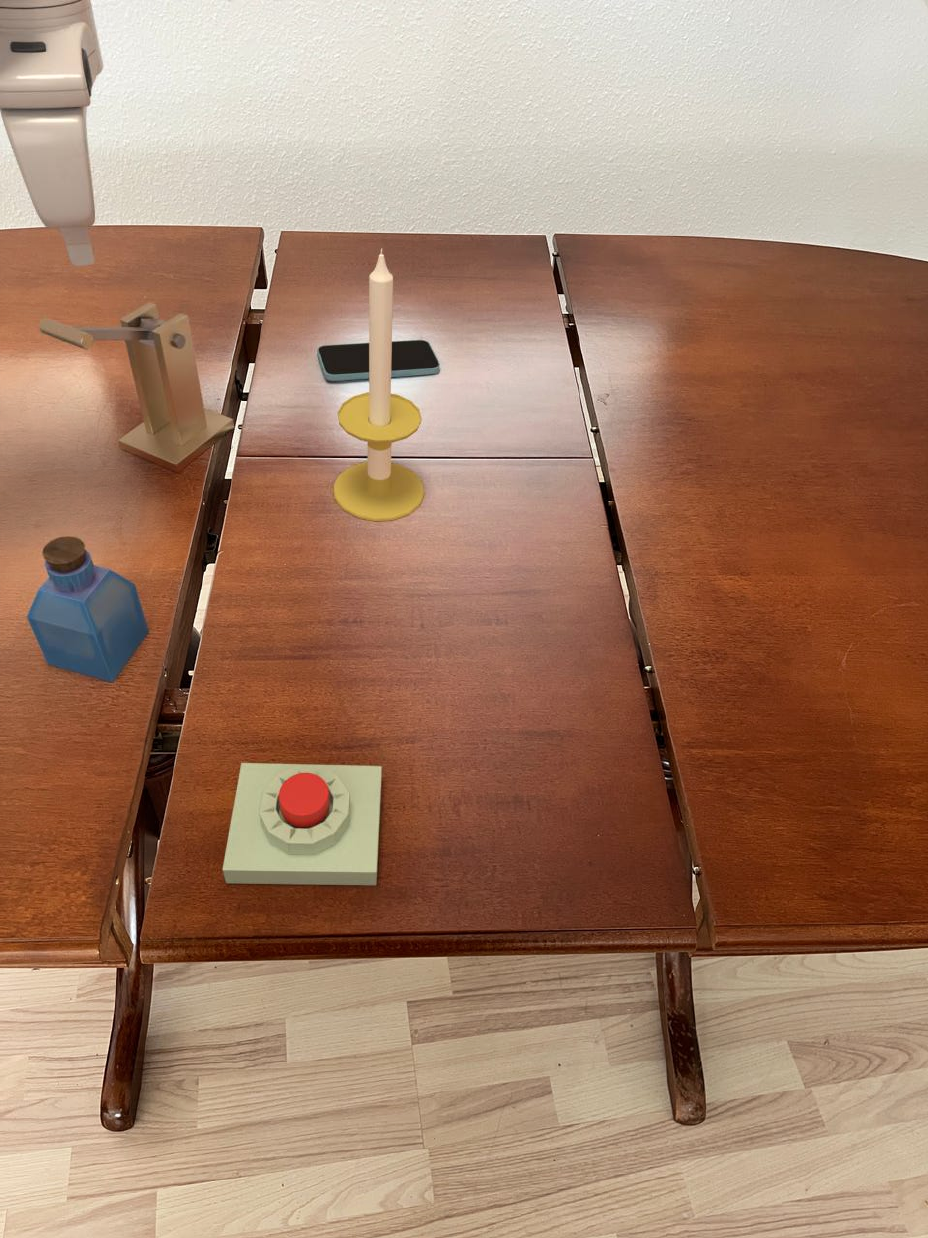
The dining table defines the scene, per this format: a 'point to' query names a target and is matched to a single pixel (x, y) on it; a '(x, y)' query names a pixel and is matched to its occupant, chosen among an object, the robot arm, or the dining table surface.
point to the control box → (305, 829)
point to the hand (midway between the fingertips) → (81, 235)
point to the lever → (100, 332)
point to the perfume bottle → (85, 613)
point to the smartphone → (355, 360)
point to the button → (304, 799)
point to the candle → (379, 423)
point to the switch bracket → (169, 395)
